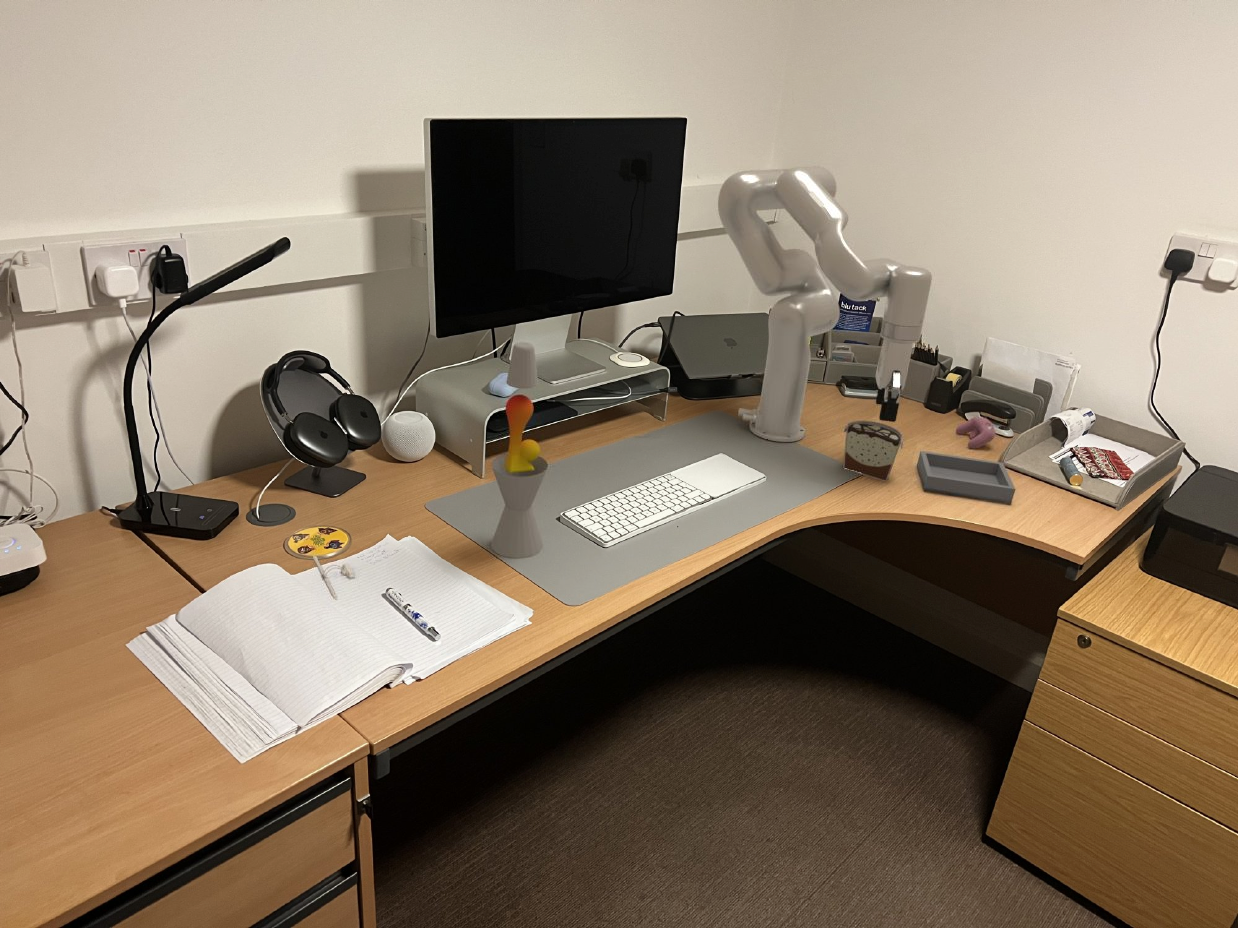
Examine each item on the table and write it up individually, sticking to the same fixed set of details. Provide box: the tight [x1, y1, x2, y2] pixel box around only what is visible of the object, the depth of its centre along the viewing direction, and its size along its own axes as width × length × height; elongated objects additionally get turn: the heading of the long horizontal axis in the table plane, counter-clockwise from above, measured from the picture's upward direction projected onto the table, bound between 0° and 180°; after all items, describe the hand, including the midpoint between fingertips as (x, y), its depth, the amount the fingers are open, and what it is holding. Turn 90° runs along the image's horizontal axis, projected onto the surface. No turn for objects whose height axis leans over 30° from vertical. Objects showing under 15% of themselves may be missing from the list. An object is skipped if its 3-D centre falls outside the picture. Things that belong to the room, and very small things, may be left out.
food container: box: [842, 420, 904, 483], centre depth 184 cm, size 12×6×10 cm, turn 58°
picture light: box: [312, 555, 356, 602], centre depth 135 cm, size 14×4×2 cm, turn 31°
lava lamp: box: [490, 341, 549, 559], centre depth 140 cm, size 9×9×35 cm
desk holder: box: [916, 450, 1016, 505], centre depth 182 cm, size 17×13×4 cm
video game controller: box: [955, 415, 996, 450], centre depth 204 cm, size 10×5×7 cm, turn 179°
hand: (885, 412), depth 180 cm, fingers open, 9 cm apart
